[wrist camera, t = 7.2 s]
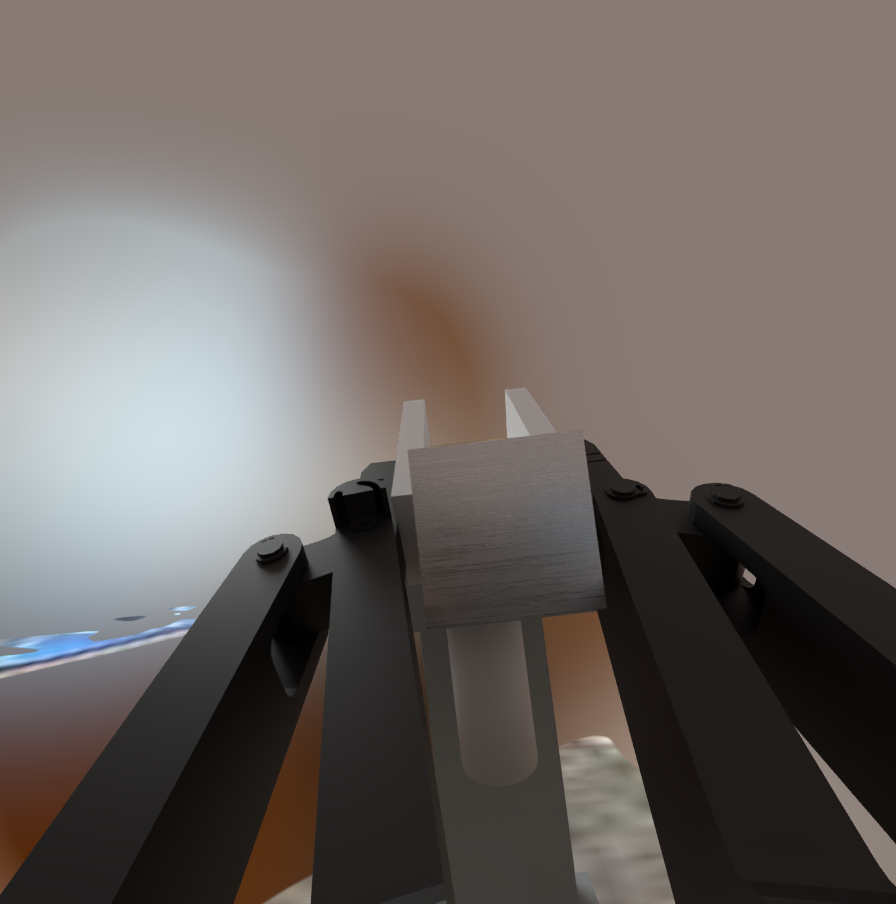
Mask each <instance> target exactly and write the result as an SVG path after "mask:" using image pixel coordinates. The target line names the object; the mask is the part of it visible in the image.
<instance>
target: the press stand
mask: <svg viewBox="0 0 896 904" xmlns="http://www.w3.org/2000/svg"><path fill="white" fill-rule="evenodd" d="M405 586H406V591H407V596H408V602H409V608H410V615H411V621H412V627H413V633H415V632H420V635H421V644H422V653H423V662H424V671H425V680H426V689H427V698H428V707H429V716H430V725H431V734H432V743H433V752H434V761H435V770H436V779H437V788H438V794H439V800H440V807H441V813H442V820H443V826H444V832H445V839H446V845H447V852H448V858H449V864H450V871H451V877H452V884H453V890H454V896H455V903H456V904H599V903H598V900H597V897H596V894H595V891H594V889H593V886H592V883H591V880H590V877H589V874H588V872H582V873H575V871H574V863H573V855H572V848H571V840H570V832H569V824H568V817H567V809H566V801H565V794H564V786H563V778H562V770H561V763H560V755H559V747H558V740H557V732H556V725H555V717H554V709H553V701H552V693H551V685H550V678H549V670H548V663H547V655H546V647H545V640H544V631H543V624H542V617H551V616H559V615H568V614H576V613H585V612H593V611H597V610H590V611H581V612H572V613H564V614H555V615H546V616H537V617H528V618H520V619H511V620H502V621H493V622H485V623H476V624H467V625H458V626H449V627H441V628H432V629H427V625H426V616H425V607H424V597H423V588H422V584H417V585H408V582H407V577H406V579H405Z"/></svg>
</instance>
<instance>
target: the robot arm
mask: <svg viewBox="0 0 896 904" xmlns="http://www.w3.org/2000/svg"><path fill="white" fill-rule="evenodd" d="M505 400H506V422H507V438H514V437H523V436H532V435H540V434H549V433H557V432H556V431H555V429H554V428H553V426H552V425H551V423H550V422H549V421H548V419H547V418H546V417H545V415H544V414H543V412H542V410H541V409H540V408H539V406H538V405H537V403H536V402H535V400H534V399H533V398H532V396H531V395H530V393H529V392H528V390H527V389H526V388H517V389H508V390H505ZM584 445H585V452H586V459H587V467H588V474H589V481H590V489H591V496H592V503H593V511H594V518H595V525H596V533H597V540H598V547H599V555H600V562H601V569H602V577H603V584H604V591H605V599H606V606H607V609H599V610H597V612H598V616H599V619H600V623H601V627H602V631H603V634H604V638H605V642H606V645H607V649H608V653H609V657H610V660H611V664H612V668H613V671H614V676H615V679H616V683H617V686H618V690H619V694H620V698H621V701H622V705H623V709H624V713H625V716H626V720H627V724H628V727H629V732H630V735H631V739H632V742H633V747H634V750H635V754H636V758H637V761H638V765H639V769H640V773H641V776H642V780H643V784H644V788H645V791H646V795H647V799H648V803H649V806H650V810H651V814H652V818H653V821H654V825H655V829H656V833H657V836H658V840H659V844H660V847H661V851H662V855H663V859H664V862H665V866H666V870H667V874H668V877H669V881H670V885H671V889H672V892H673V896H674V900H675V904H896V886H895V885H894V884H893V883H892V882H891V881H890V880H889V879H888V877H887V876H886V875H885V873H884V872H883V871H882V869H881V868H880V866H879V865H878V863H877V862H876V860H875V859H874V857H873V855H872V854H871V852H870V850H869V849H868V847H867V845H866V844H865V842H864V840H863V839H862V837H861V835H860V834H859V832H858V831H857V829H856V827H855V826H854V824H853V822H852V821H851V819H850V817H849V816H848V814H847V813H846V811H845V809H844V807H843V806H842V804H841V803H840V801H839V799H838V798H837V796H836V794H835V793H834V791H833V789H832V788H831V786H830V784H829V783H828V781H827V779H826V778H825V776H824V774H823V773H822V771H821V770H820V768H819V766H818V765H817V763H816V761H815V760H814V758H813V756H812V755H811V753H810V752H809V750H808V748H807V747H806V745H805V743H804V742H803V740H802V738H801V737H800V735H799V733H798V732H797V730H796V728H797V729H798V731H799V732H800V733H801V734H802V735H803V737H804V738H805V739H806V740H807V741H808V742H809V744H810V745H811V746H812V747H813V748H814V749H815V751H816V752H817V753H818V754H819V755H820V756H821V758H822V759H823V760H824V761H825V762H826V763H827V764H828V766H829V767H830V768H831V769H832V770H833V771H834V773H835V774H836V775H837V776H838V777H839V778H840V780H841V781H842V782H843V783H844V784H845V785H846V787H847V788H848V789H849V790H850V791H851V792H852V794H853V795H854V796H855V797H856V798H857V799H858V801H859V802H860V803H861V804H862V805H863V806H864V807H865V809H866V810H867V811H868V812H869V813H870V814H871V816H872V817H873V818H874V819H875V820H876V821H877V823H878V824H879V825H880V826H881V827H882V828H883V830H884V831H885V832H886V833H887V834H888V835H889V836H890V838H891V839H892V840H893V841H894V842H895V843H896V589H895V588H894V587H893V586H891V585H890V584H888V583H887V582H885V581H883V580H882V579H881V578H879V577H878V576H876V575H875V574H873V573H872V572H870V571H869V570H867V569H865V568H864V567H862V566H861V565H859V564H858V563H856V562H855V561H853V560H852V559H850V558H849V557H847V556H846V555H844V554H843V553H841V552H840V551H838V550H837V549H835V548H834V547H832V546H831V545H829V544H828V543H826V542H825V541H823V540H822V539H820V538H819V537H817V536H816V535H814V534H813V533H811V532H810V531H808V530H807V529H805V528H804V527H802V526H801V525H799V524H798V523H796V522H794V521H793V520H792V519H790V518H788V517H787V516H786V515H784V514H782V513H781V512H779V511H778V510H776V509H775V508H773V507H772V506H770V505H769V504H767V503H766V502H764V501H763V500H761V499H760V498H758V497H756V496H755V495H754V494H752V493H750V492H748V491H746V490H744V489H742V488H739V487H735V486H732V485H730V484H722V483H710V484H702V485H700V486H697V487H695V488H694V489H693V490H692V491H691V495H690V501H679V500H665V499H658V498H655V496H654V494H653V493H652V491H651V490H650V489H649V488H648V487H647V486H645V485H643V484H641V483H639V482H637V481H633V480H629V479H623V478H622V477H621V476H620V475H619V473H618V472H617V471H616V470H615V469H614V468H613V466H612V465H611V464H610V463H609V462H608V461H607V460H606V458H605V457H604V456H603V454H601V452H600V451H599V450H598V449H597V447H596V446H595V445H594V444H592V443H590V442H588V441H586V440H584ZM428 447H431V445H430V437H429V430H428V422H427V415H426V408H425V400H424V399H422V400H413V401H406V402H404V406H403V413H402V420H401V427H400V434H399V441H398V450H397V456H396V461H388V462H379V463H371V464H370V465H369V466H368V467H367V468H366V469H365V470H364V471H363V472H362V474H361V477H360V479H356V480H352V481H348V482H346V483H344V484H342V485H340V486H338V487H336V488H335V489H334V490H333V491H332V492H331V493H330V495H329V497H328V501H329V505H330V509H331V512H332V516H333V519H334V523H335V527H336V533H335V534H334V535H332V536H330V537H329V538H326V539H324V540H321V541H318V542H315V543H312V544H309V545H305V546H303V544H302V542H301V540H300V538H299V537H297V536H295V535H293V534H280V535H273V536H270V537H268V538H264V539H262V540H260V541H259V542H257V543H255V544H254V545H252V546H251V547H250V548H249V549H248V550H247V551H246V552H245V553H244V554H243V555H242V557H241V558H240V559H239V561H238V562H237V564H236V565H235V566H234V568H233V569H232V571H231V572H230V573H229V575H228V576H227V578H226V579H225V580H224V582H223V583H222V585H221V586H220V587H219V589H218V590H217V592H216V593H215V594H214V596H213V597H212V599H211V600H210V601H209V603H208V604H207V606H206V607H205V608H204V610H203V611H202V613H201V614H200V615H199V617H198V618H197V620H196V621H195V622H194V624H193V625H192V627H191V628H190V629H189V631H188V632H187V634H186V635H185V636H184V638H183V639H182V641H181V642H180V644H179V645H178V646H177V648H176V649H175V651H174V652H173V653H172V655H171V656H170V658H169V659H168V661H167V662H166V663H165V665H164V666H163V668H162V669H161V670H160V672H159V673H158V674H157V676H156V677H155V679H154V680H153V681H152V683H151V684H150V686H149V687H148V688H147V690H146V691H145V693H144V694H143V696H142V697H141V698H140V700H139V701H138V702H137V704H136V705H135V707H134V708H133V710H132V711H131V712H130V714H129V715H128V717H127V718H126V719H125V721H124V722H123V724H122V725H121V726H120V728H119V729H118V731H117V732H116V733H115V735H114V736H113V738H112V739H111V740H110V742H109V743H108V745H107V746H106V747H105V749H104V750H103V752H102V753H101V754H100V756H99V757H98V759H97V760H96V761H95V763H94V764H93V766H92V767H91V768H90V770H89V771H88V773H87V774H86V776H85V777H84V779H83V780H82V781H81V782H80V784H79V785H78V787H77V788H76V790H75V791H74V792H73V794H72V795H71V797H70V798H69V799H68V801H67V802H66V804H65V805H64V807H63V808H62V809H61V811H60V812H59V813H58V815H57V816H56V818H55V819H54V820H53V822H52V823H51V825H50V826H49V827H48V829H47V830H46V832H45V833H44V834H43V836H42V838H41V839H40V840H39V841H38V843H37V844H36V846H35V847H34V849H33V850H32V851H31V853H30V854H29V856H28V857H27V858H26V860H25V861H24V863H23V864H22V865H21V867H20V868H19V870H18V871H17V872H16V874H15V875H14V877H13V878H12V879H11V881H10V882H9V884H8V885H7V886H6V888H5V889H4V891H3V892H2V893H1V895H0V904H233V903H234V900H235V898H236V894H237V892H238V889H239V886H240V883H241V880H242V878H243V875H244V872H245V869H246V866H247V864H248V861H249V858H250V855H251V852H252V849H253V846H254V844H255V841H256V838H257V835H258V832H259V829H260V827H261V824H262V821H263V818H264V815H265V812H266V810H267V807H268V804H269V801H270V798H271V795H272V792H273V790H274V787H275V784H276V781H277V778H278V775H279V772H280V769H281V767H282V764H283V761H284V758H285V755H286V753H287V750H288V747H289V744H290V741H291V738H292V736H293V733H294V729H295V727H296V724H297V721H298V718H299V716H300V713H301V710H302V707H303V704H304V701H305V699H306V696H307V692H308V690H309V687H310V684H311V682H312V679H313V676H314V673H315V670H316V667H317V664H318V662H319V658H320V656H321V653H322V650H323V647H324V644H325V642H326V639H327V636H328V631H329V640H328V653H327V654H328V655H327V669H326V684H325V698H324V713H323V728H322V743H321V744H322V745H321V758H320V774H319V788H318V789H319V790H318V803H317V819H316V834H315V848H314V863H313V864H314V865H313V878H312V893H311V904H456V903H455V896H454V890H453V884H452V877H451V871H450V864H449V858H448V852H447V845H446V839H445V832H444V826H443V820H442V813H441V807H440V800H439V794H438V788H437V781H436V775H435V768H434V762H433V756H432V750H431V743H430V736H429V730H428V724H427V717H426V711H425V704H424V698H423V692H422V685H421V679H420V672H419V666H418V660H417V653H416V647H415V641H414V634H413V627H412V621H411V615H410V608H409V602H408V596H407V591H406V586H405V579H406V577H407V582H408V585H417V584H422V579H421V570H420V561H419V551H418V542H417V533H416V524H415V515H414V506H413V496H412V487H411V478H410V469H409V460H408V450H410V449H419V448H428ZM745 568H746V569H747V570H748V571H749V572H751V573H752V574H753V575H754V576H755V577H756V582H755V584H754V585H753V584H751V583H750V582H748V581H747V580H746V579H745V578H744V577H743V574H744V570H745ZM794 726H795V727H796V728H795V727H794Z"/></svg>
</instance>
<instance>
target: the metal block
mask: <svg viewBox="0 0 896 904" xmlns="http://www.w3.org/2000/svg"><path fill="white" fill-rule="evenodd" d="M408 460H409V469H410V478H411V487H412V496H413V506H414V515H415V524H416V533H417V542H418V551H419V561H420V570H421V579H422V588H423V597H424V607H425V616H426V625H427V629H432V628H441V627H449V626H458V625H467V624H476V623H485V622H493V621H502V620H511V619H520V618H528V617H537V616H546V615H555V614H564V613H572V612H581V611H590V610H599V609H607V606H606V599H605V591H604V584H603V577H602V569H601V562H600V555H599V547H598V540H597V533H596V525H595V518H594V511H593V503H592V496H591V489H590V481H589V474H588V467H587V459H586V452H585V445H584V438H583V430H575V431H567V432H559V433H549V434H540V435H532V436H523V437H514V438H500V439H491V440H483V441H474V442H465V443H456V444H448V445H439V446H431V447H428V448H419V449H410V450H408Z"/></svg>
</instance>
